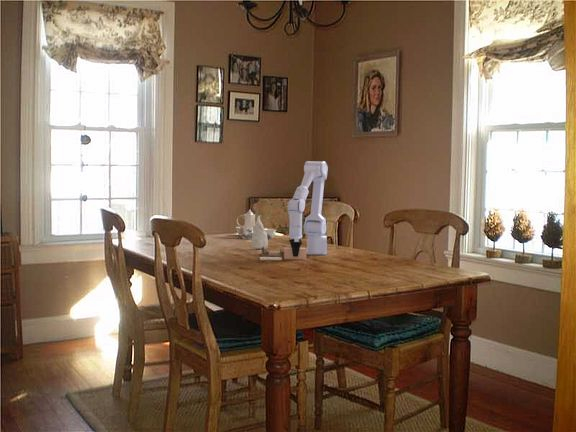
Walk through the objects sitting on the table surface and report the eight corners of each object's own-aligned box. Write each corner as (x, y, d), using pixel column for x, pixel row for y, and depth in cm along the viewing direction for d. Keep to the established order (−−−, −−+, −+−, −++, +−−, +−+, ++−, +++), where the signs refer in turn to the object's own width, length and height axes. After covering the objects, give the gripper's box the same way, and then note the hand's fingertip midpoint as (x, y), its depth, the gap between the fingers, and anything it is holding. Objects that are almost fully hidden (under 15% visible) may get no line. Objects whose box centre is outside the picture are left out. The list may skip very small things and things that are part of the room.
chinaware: (281, 240, 389) (282, 211, 389) (268, 241, 373) (269, 210, 373) (237, 237, 400) (238, 209, 400) (222, 237, 385) (224, 208, 385)
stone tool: (252, 250, 339) (252, 219, 338) (250, 249, 342) (250, 219, 341) (268, 249, 342) (269, 219, 341) (266, 248, 345) (267, 218, 344)
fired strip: (282, 259, 314) (282, 257, 314) (282, 261, 311) (282, 258, 310) (260, 259, 314) (260, 256, 314) (259, 260, 311) (259, 258, 310)
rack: (286, 254, 327) (286, 247, 327) (287, 257, 318) (288, 250, 318) (261, 254, 326) (261, 247, 326) (261, 257, 317) (261, 249, 317)
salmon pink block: (305, 258, 316) (306, 247, 316) (306, 259, 313) (306, 248, 312) (284, 258, 316) (284, 247, 316) (284, 259, 313) (284, 248, 312)
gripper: (285, 224, 320) (285, 253, 321) (287, 227, 306) (287, 258, 307) (301, 224, 320) (300, 253, 322) (303, 227, 306) (303, 258, 307)
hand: (295, 255), depth 314 cm, fingers closed on salmon pink block, 4 cm apart
